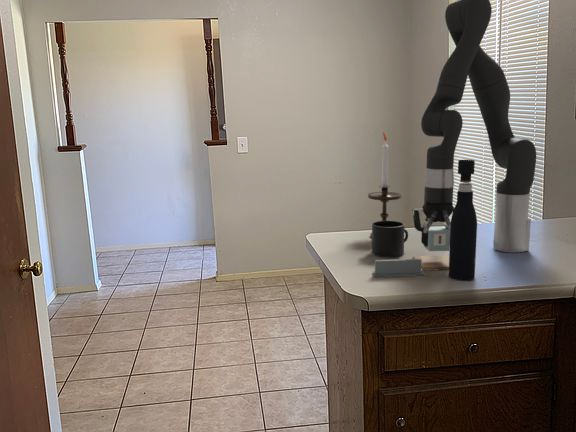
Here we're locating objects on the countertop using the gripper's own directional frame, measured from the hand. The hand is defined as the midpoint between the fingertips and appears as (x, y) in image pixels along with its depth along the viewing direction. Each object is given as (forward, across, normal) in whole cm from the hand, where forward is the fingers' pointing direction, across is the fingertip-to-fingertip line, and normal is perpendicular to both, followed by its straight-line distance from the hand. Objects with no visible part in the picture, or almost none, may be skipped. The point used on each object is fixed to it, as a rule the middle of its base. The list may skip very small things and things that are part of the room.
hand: (436, 245), depth 155 cm
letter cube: (+1, 0, 0) cm, 1 cm away
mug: (+6, +10, -13) cm, 17 cm away
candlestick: (+6, +8, -33) cm, 34 cm away
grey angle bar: (+5, +12, +9) cm, 16 cm away
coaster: (+5, 0, 0) cm, 5 cm away
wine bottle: (+5, -3, +12) cm, 14 cm away
